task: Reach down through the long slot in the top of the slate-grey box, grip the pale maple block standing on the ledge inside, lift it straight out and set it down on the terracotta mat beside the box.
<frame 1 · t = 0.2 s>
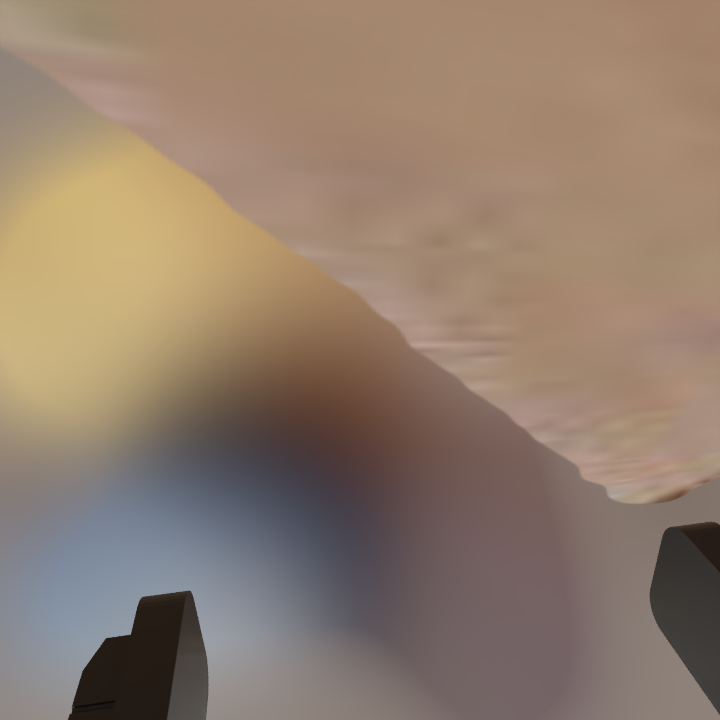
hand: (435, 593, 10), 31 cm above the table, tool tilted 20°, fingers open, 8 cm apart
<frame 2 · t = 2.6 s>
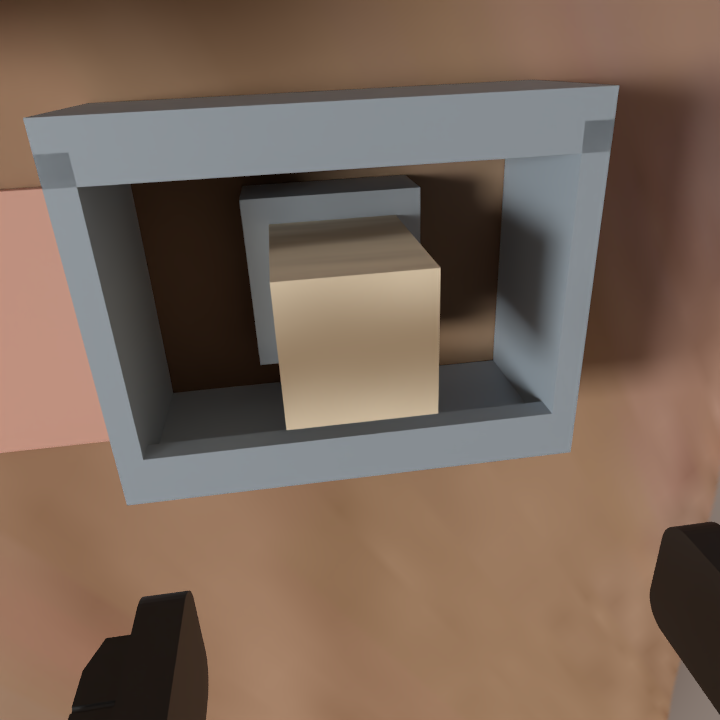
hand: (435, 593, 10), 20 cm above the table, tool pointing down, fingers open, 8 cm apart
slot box: (329, 259, 28), on the table
maple block: (336, 280, 25), point 3 cm above the table, touching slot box
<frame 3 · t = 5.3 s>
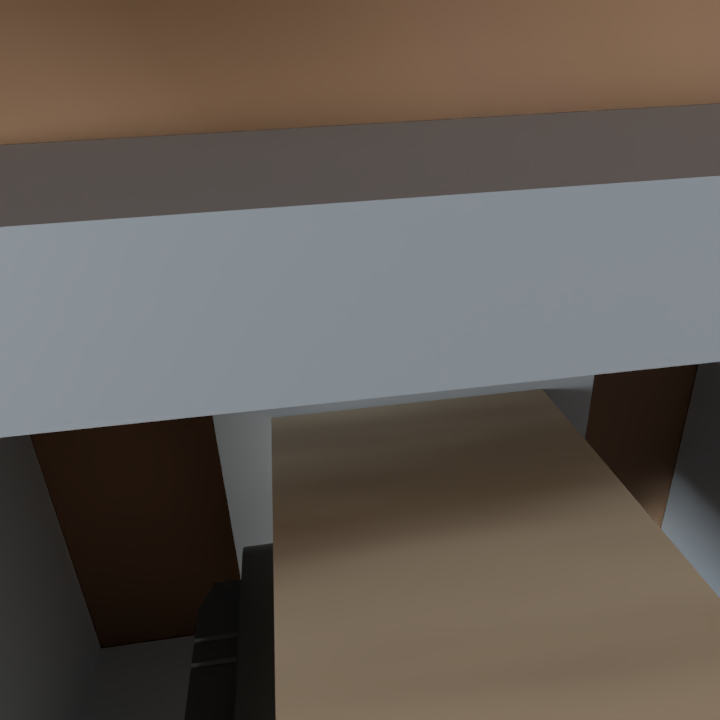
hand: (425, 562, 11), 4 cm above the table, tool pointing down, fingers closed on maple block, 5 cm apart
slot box: (384, 430, 15), on the table
maple block: (410, 511, 12), point 3 cm above the table, touching gripper, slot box
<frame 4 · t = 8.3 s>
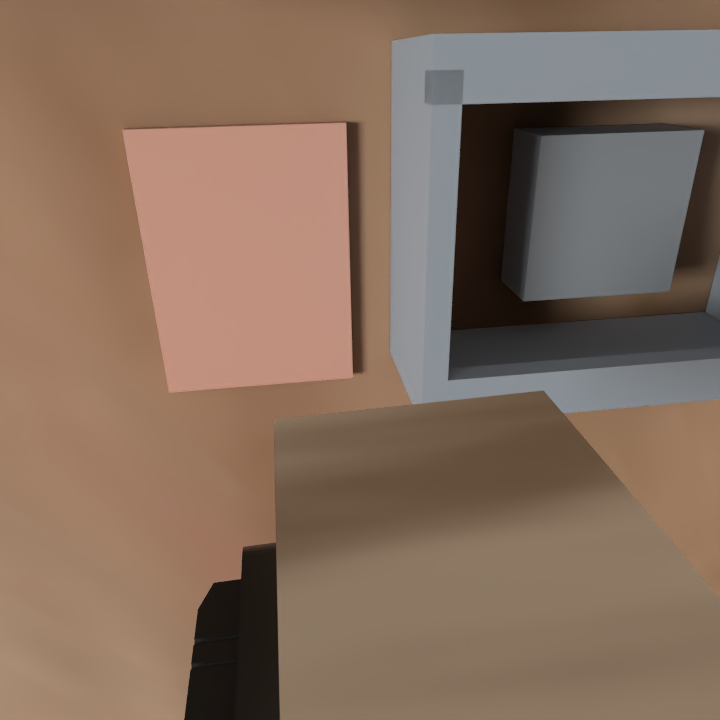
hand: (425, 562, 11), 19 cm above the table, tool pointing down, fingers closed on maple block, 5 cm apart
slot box: (578, 204, 29), on the table
terracotta mat: (251, 264, 28), on the table
maple block: (412, 512, 12), point 18 cm above the table, touching gripper
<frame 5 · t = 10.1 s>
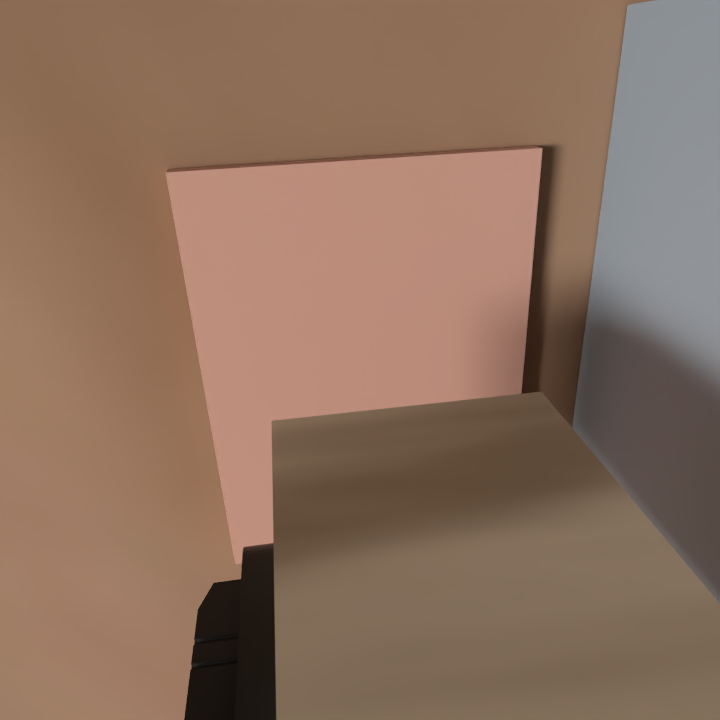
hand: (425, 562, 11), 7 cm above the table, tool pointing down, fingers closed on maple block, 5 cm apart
terracotta mat: (366, 374, 18), on the table
maple block: (410, 513, 12), point 6 cm above the table, touching gripper
when the fingers open (3 cm above the table, at t = 11.4 s): maple block drops 1 cm, resting on terracotta mat.
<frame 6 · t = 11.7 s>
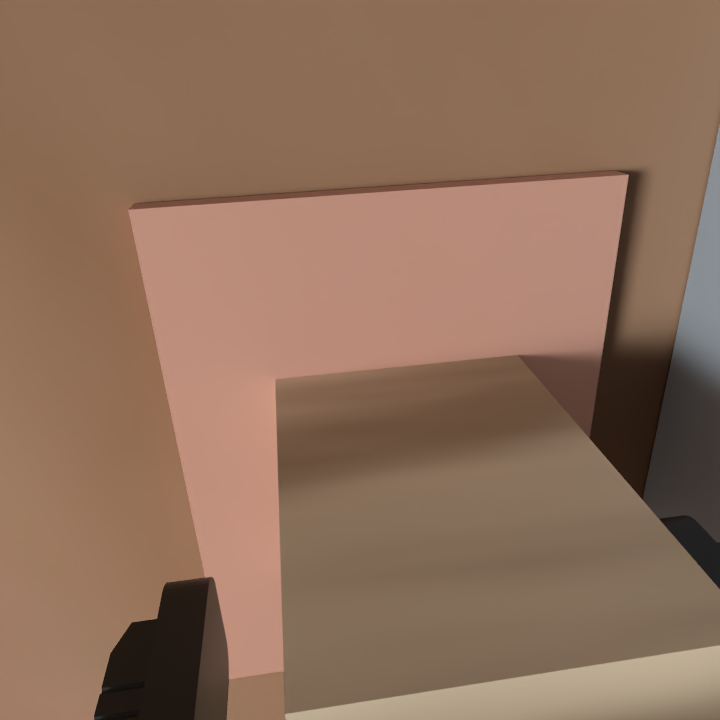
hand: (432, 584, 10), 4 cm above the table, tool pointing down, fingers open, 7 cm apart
terracotta mat: (390, 455, 14), on the table
maple block: (400, 467, 13), resting on terracotta mat
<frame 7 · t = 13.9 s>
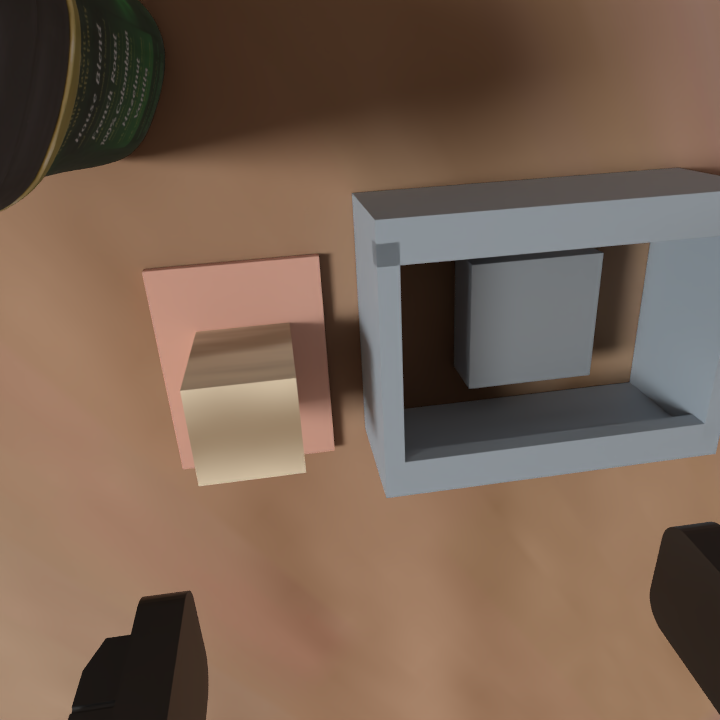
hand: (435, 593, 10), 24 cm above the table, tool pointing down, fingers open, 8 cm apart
coffee jar: (53, 54, 27), on the table
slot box: (513, 304, 35), on the table
terracotta mat: (247, 365, 34), on the table
maple block: (249, 368, 34), resting on terracotta mat
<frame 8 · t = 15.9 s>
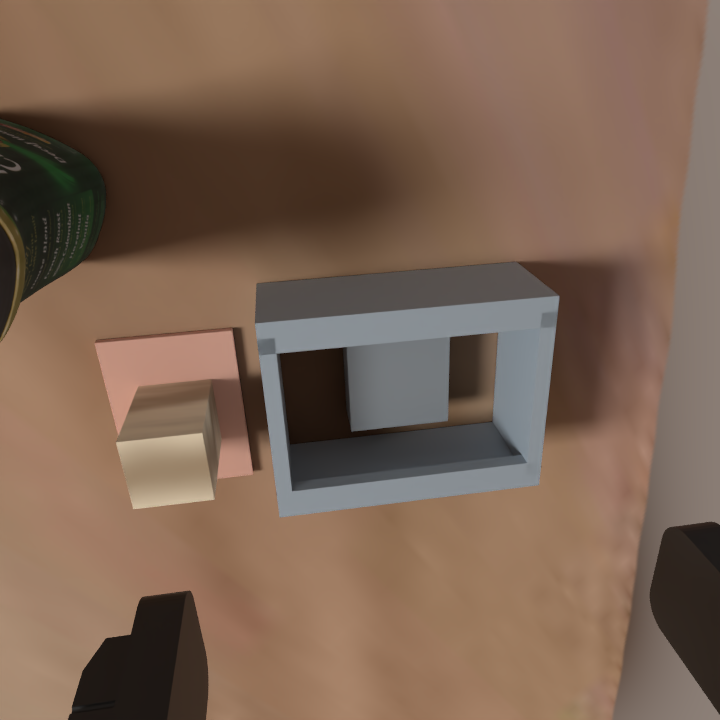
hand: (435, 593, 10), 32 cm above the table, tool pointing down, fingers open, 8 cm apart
coffee jar: (23, 189, 36), on the table
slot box: (391, 364, 45), on the table
terracotta mat: (180, 410, 44), on the table
maple block: (181, 413, 44), resting on terracotta mat
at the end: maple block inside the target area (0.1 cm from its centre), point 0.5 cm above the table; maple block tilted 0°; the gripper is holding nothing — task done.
